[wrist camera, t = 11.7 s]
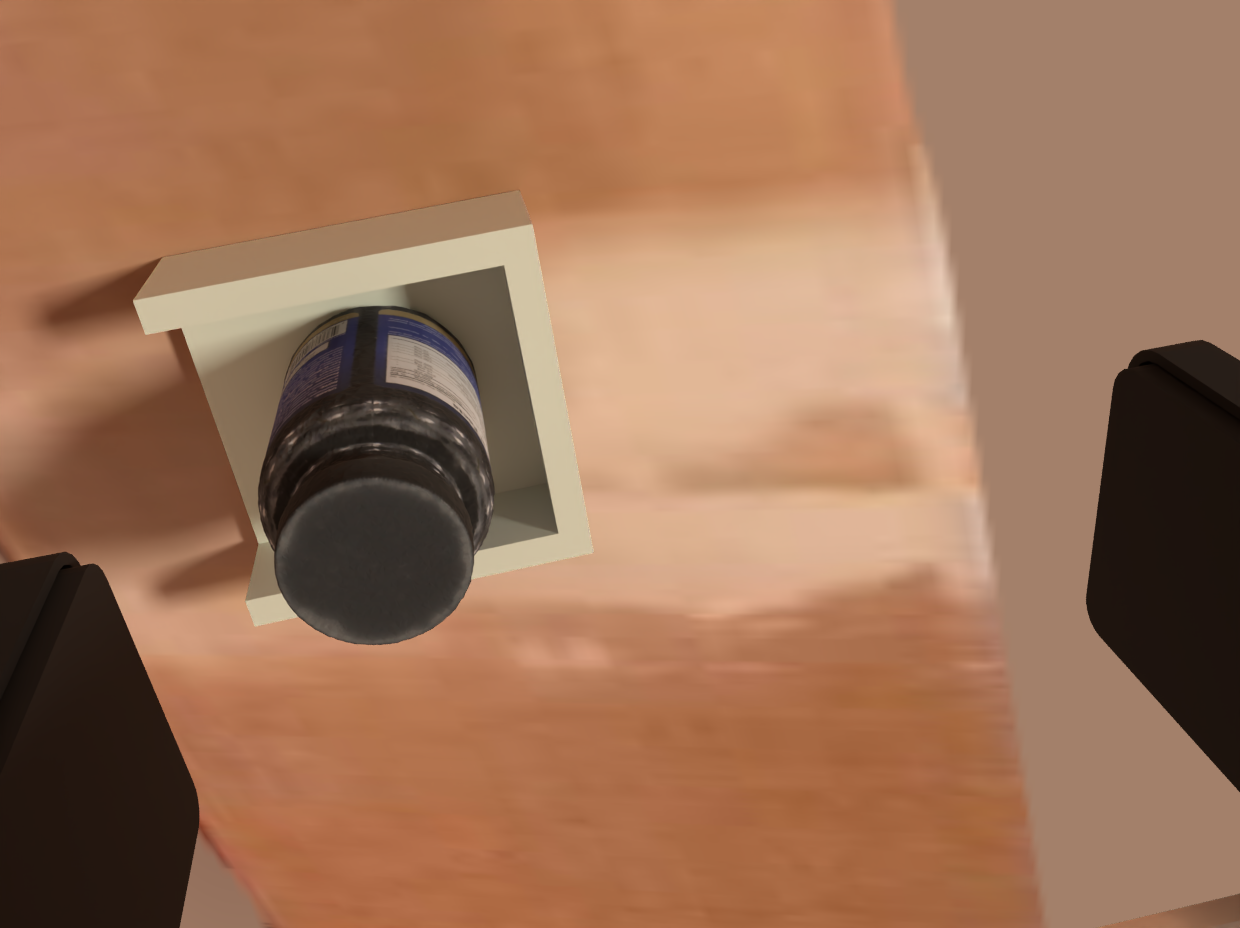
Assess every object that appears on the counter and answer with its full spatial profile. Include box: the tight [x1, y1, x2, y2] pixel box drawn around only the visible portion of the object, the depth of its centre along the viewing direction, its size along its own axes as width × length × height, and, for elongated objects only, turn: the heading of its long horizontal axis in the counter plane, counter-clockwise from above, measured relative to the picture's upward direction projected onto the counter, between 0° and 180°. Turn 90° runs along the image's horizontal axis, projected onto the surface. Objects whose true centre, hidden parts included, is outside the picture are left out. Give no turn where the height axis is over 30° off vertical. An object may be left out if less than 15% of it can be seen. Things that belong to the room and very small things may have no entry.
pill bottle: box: [258, 306, 495, 645], centre depth 31 cm, size 6×6×11 cm
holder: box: [133, 190, 594, 627], centre depth 35 cm, size 11×11×4 cm
